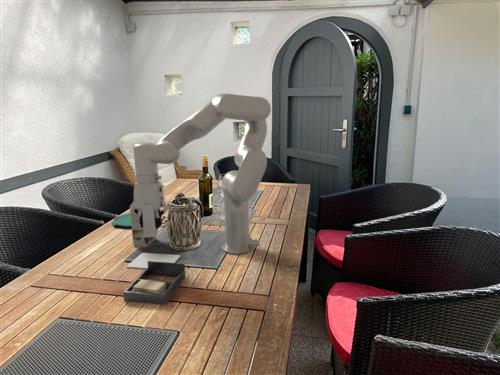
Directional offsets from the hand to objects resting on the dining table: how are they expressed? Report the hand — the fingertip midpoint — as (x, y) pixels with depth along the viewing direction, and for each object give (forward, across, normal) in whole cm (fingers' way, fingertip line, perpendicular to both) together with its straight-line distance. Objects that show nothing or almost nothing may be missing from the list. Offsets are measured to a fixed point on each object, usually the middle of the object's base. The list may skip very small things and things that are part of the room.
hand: (150, 226), depth 134 cm
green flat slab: (+15, +24, -41) cm, 50 cm away
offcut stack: (+14, -9, +23) cm, 28 cm away
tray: (+14, -9, +18) cm, 25 cm away
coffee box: (+14, +12, -17) cm, 25 cm away
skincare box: (+3, 0, 0) cm, 3 cm away
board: (+14, 0, 0) cm, 14 cm away
